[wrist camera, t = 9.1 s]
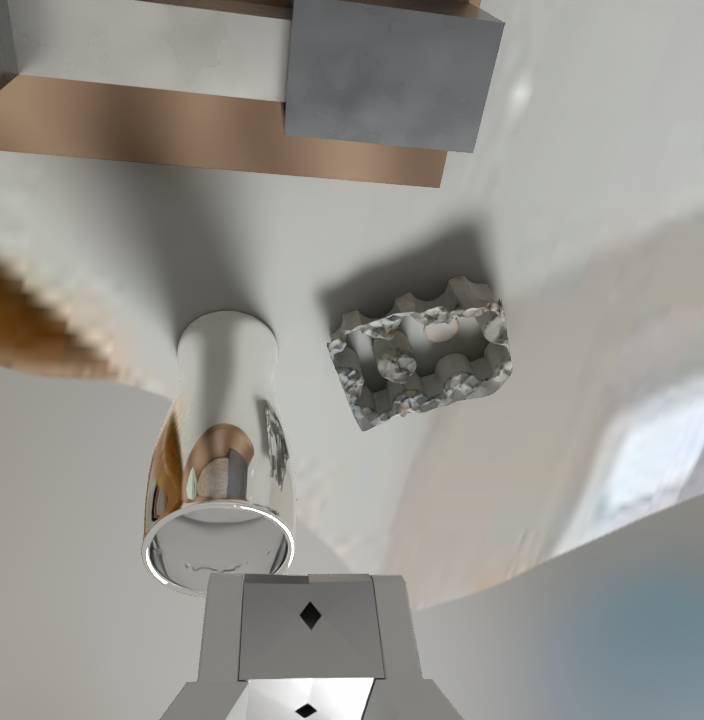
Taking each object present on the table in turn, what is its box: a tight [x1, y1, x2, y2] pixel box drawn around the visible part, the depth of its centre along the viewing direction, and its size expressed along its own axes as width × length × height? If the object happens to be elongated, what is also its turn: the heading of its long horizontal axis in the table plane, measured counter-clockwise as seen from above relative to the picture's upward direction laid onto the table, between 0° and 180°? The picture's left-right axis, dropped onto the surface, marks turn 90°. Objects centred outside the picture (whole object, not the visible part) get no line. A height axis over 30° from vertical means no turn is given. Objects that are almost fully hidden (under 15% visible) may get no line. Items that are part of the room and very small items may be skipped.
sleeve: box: [280, 0, 505, 153], centre depth 27 cm, size 8×5×5 cm, turn 82°
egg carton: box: [327, 276, 512, 431], centre depth 40 cm, size 11×8×4 cm
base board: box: [0, 0, 481, 188], centre depth 28 cm, size 29×12×2 cm, turn 82°
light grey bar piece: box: [0, 0, 293, 102], centre depth 23 cm, size 21×3×8 cm, turn 82°
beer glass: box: [141, 311, 296, 598], centre depth 34 cm, size 7×7×15 cm
